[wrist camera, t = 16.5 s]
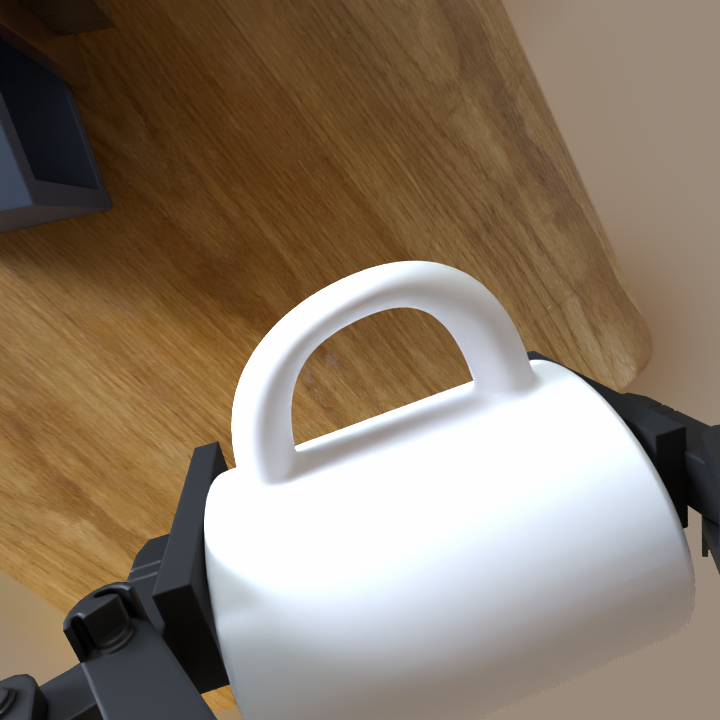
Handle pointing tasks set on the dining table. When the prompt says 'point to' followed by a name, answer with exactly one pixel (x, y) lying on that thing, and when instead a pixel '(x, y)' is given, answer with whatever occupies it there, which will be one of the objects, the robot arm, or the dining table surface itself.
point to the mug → (434, 527)
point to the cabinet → (42, 148)
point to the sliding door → (54, 32)
